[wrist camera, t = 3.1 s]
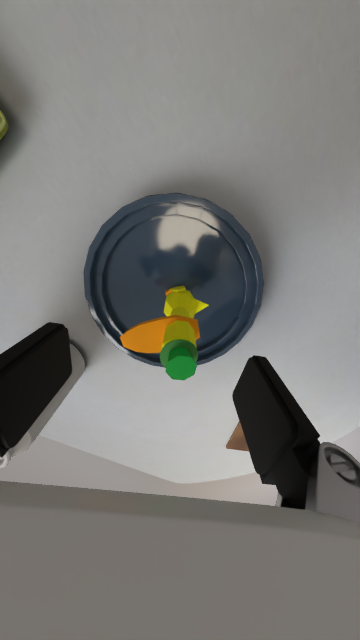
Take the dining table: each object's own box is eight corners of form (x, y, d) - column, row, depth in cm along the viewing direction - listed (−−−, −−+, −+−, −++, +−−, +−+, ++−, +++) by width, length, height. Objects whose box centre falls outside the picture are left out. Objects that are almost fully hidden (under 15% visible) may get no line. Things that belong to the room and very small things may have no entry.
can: (74, 329, 22) (-26, 418, 12) (96, 373, 26) (32, 474, 15) (22, 337, 23) (-122, 427, 12) (49, 378, 26) (-45, 479, 15)
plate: (283, 221, 17) (297, 220, 15) (226, 366, 25) (230, 377, 23) (91, 178, 15) (77, 169, 13) (96, 345, 23) (88, 355, 21)
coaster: (283, 426, 30) (285, 428, 30) (265, 451, 34) (266, 453, 33) (240, 420, 30) (240, 422, 29) (225, 446, 33) (226, 448, 33)
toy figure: (149, 314, 20) (111, 402, 10) (140, 285, 19) (84, 351, 8) (205, 305, 20) (232, 388, 9) (201, 274, 18) (228, 330, 8)
